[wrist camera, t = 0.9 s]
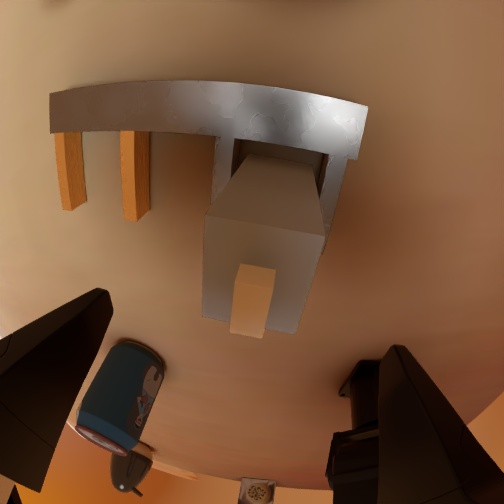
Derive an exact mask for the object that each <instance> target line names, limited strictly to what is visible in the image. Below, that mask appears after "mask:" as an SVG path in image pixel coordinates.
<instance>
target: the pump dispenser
mask: <svg viewBox="0 0 504 504" xmlns="http://www.w3.org/2000/svg"><path fill="white" fill-rule="evenodd" d="M152 464H153V461H152V453H151V451H150V449H149V448H148V447H147V446H146V445H145V444H143V443H141V442H139V441H138V444H137V445H136V446H135V447H134V448H132V449H131V450H130V451H128V452H127V456H121V455H117V454H115V453H112V456H111V462H110V477H111V482H112V485H113V486H114V488H115V489H116V490H118V491H120V492H123V493H128V492H131V491H133V492H134V493H135V494H137V495H138V496H139V497H142V496H143V494H141V492H139V491H138V490H137V489H136V487H137V486H139V485H140V483H141V482H142V481H143V480H144V479H145V477H146V476H147V474H148V472H149V470H150V469H151V467H152Z"/></svg>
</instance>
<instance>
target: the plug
mask: <svg viewBox="0 0 504 504" xmlns="http://www.w3.org/2000/svg"><path fill="white" fill-rule="evenodd" d="M324 240H325V231H324V225H323V219H322V213H321V208H320V203H319V197H318V192H317V187H316V182H315V177H314V172H313V168H312V165H310V164H305V163H300V162H294V161H289V160H283V159H277V158H271V157H265V156H259V155H252V154H249V155H248V156H247V157H246V159H245V160H244V161H243V163H242V164H241V165H240V167H239V168H238V169H237V171H236V172H235V173H234V175H233V176H232V178H231V179H230V180H229V182H228V183H227V184H226V186H225V187H224V189H223V190H222V191H221V193H220V194H219V196H218V197H217V198H216V200H215V201H214V203H213V204H212V206H211V207H210V208H209V210H208V211H207V213H206V214H205V220H204V245H203V281H202V317H206V318H210V319H215V320H220V321H225V322H229V323H230V332H229V333H234V334H239V335H245V336H250V337H255V338H261V339H262V337H263V333H264V329H266V330H272V331H278V332H284V333H290V334H295V333H296V330H297V327H298V324H299V321H300V318H301V315H302V312H303V309H304V306H305V303H306V300H307V297H308V294H309V291H310V287H311V284H312V281H313V278H314V274H315V271H316V268H317V264H318V261H319V258H320V254H321V251H322V247H323V244H324Z"/></svg>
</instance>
